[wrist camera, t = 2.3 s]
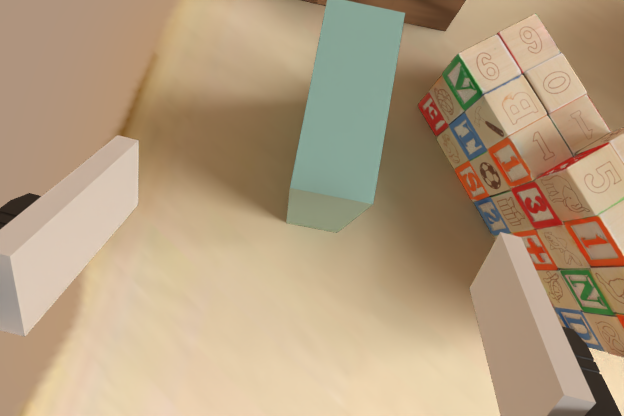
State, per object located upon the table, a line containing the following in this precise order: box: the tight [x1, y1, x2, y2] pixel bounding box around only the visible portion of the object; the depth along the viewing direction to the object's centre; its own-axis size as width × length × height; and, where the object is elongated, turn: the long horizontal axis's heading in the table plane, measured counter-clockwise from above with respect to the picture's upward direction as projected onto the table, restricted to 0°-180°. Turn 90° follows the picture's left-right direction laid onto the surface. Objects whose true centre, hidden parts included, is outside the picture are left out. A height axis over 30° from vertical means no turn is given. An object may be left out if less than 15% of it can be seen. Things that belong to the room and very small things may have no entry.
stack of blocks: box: [418, 13, 624, 357], centre depth 31 cm, size 21×6×12 cm, turn 29°
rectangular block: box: [286, 0, 405, 233], centre depth 29 cm, size 4×10×14 cm, turn 169°
